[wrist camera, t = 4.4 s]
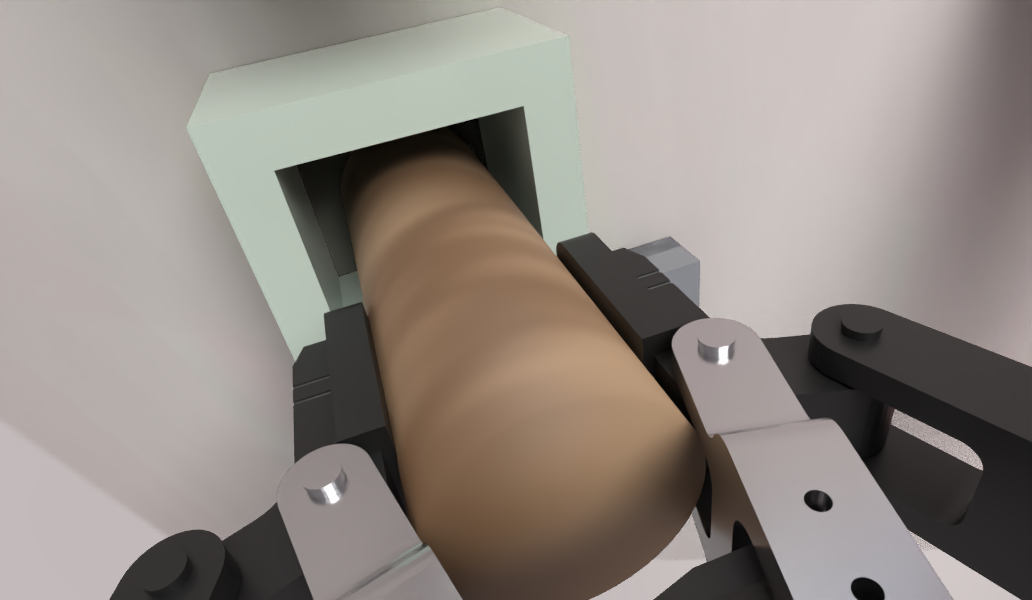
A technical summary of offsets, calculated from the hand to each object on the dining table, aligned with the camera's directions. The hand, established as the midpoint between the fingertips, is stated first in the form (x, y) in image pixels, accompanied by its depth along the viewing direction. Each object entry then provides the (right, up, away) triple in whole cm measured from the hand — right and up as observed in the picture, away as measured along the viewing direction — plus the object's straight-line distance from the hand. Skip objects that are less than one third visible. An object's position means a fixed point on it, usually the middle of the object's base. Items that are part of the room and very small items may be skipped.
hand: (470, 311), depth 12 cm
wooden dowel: (-2, +3, +5) cm, 7 cm away
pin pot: (-3, +4, +6) cm, 8 cm away
